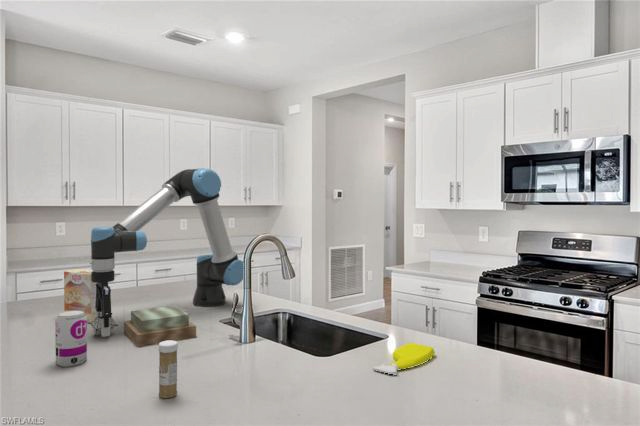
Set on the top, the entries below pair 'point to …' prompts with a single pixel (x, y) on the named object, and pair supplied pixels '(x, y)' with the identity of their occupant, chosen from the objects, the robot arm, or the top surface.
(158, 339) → the tower base
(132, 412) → the top surface
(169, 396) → the sprinkles bottle
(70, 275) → the coffeecake box
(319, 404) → the top surface
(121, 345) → the top surface
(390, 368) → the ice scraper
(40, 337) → the top surface
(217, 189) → the robot arm
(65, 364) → the supplement can
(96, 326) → the game die
